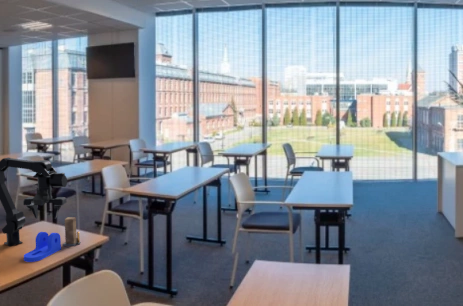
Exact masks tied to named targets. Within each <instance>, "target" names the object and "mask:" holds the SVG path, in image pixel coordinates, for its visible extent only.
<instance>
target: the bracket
mask: <svg viewBox="0 0 463 306" xmlns="http://www.w3.org/2000/svg"><path fill="white" fill-rule="evenodd" d="M48 233H49V232H46V231H38V233H37V234H36V236H35V248H34V249H32V250H31V251H29V252H27V253H24V254H23V261H24V262H26V263H33V262H34V263H35V262H39V261H42V260H43V259H45V258H48V257H49V256H51V255H53V254H56V253H58V252H59V251H61V250H62V243H61V241H62V240H61V239H62V238H61V235H60V233H58V232H50V234H48Z"/></svg>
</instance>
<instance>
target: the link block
mask: <svg viewBox="0 0 463 306" xmlns="http://www.w3.org/2000/svg"><path fill="white" fill-rule="evenodd" d="M64 232H65V233H64V234H65V235H64V237H65V242H66V244H74V243H75V242H76V241H77V218H76V216H75V217H74V216H73V217H71V216H68V217H66V218H65V219H64Z"/></svg>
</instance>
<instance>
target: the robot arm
mask: <svg viewBox="0 0 463 306" xmlns="http://www.w3.org/2000/svg"><path fill="white" fill-rule="evenodd" d="M9 168H16V169H23V170H29V171H32V172H33V173H35V174H34V175H33V176H32V178H33V179H37V190H36V194H35V195H34V196H28V197H26V198H24V200H23V206H26V207H28V208H29V209H30V210H31V211H32V214H33V216H34V218H35V219H38V214H39V213H38V211H39V208H38V206H44V205H45V204H53V208H54V209H53V210H54V211H53V212H54V215H53V217H54V220H56V219H57V217H58V214H59V212H60V209H61V207H62V206H64V205H65V204H67V198H66V197H64V196H59V197H58V196H57V197H56V198H53V196H52V191H53V188H66V187H67V185H68V178H67V176H66V173H65V172H57V171H56V169H55V168H54V167H53V165H52V163H51V161H49V160H48V159H45V160H44V159H43V160H27V159H26V160H25V159H18V158H11V157H4V158H1V159H0V203H1V206H2V207H3V209H4V210H3V211H4V212H5V222H6V223H5V226H4V227H3V228H2V229H1V231H2V234H5V235H6V241H5V242H4V245H6V246H9V247H12V246H17V245H20V244H23V243H24V242H23V241H22V240H21V237H20V235H21V234H20V230H23V227H24V225H25V223H26V216H25V215H24V211H22V210H20V211H19V210H18V209H17V208H16V205H15V203H14V201H13V199H12V196H11V193H10V192H9V189H8V187H7V185H6V182H5V181H6V180H5V179H6V175H5V172H6V171H7V170H8V169H9ZM52 187H53V188H52Z"/></svg>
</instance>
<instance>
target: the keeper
mask: <svg viewBox="0 0 463 306" xmlns="http://www.w3.org/2000/svg"><path fill="white" fill-rule="evenodd" d="M76 235H77V241H76V242H75V243H74V244H66V241H65V242H64V243H62V246H64V247H75V246H77V245H81V244H80V243H82V242H81V240H80V231H76Z"/></svg>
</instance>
